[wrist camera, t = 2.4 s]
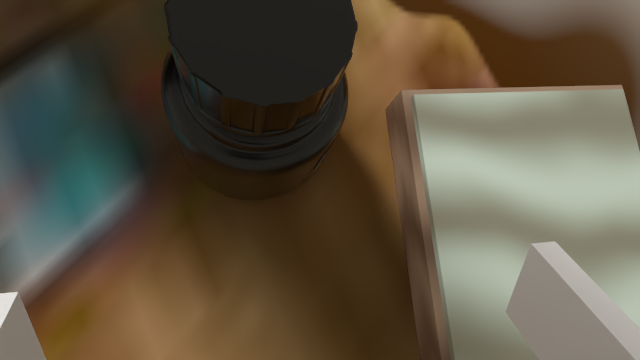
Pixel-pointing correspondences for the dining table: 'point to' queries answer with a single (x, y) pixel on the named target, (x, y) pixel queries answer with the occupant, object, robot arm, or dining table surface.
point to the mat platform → (510, 204)
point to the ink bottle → (256, 88)
